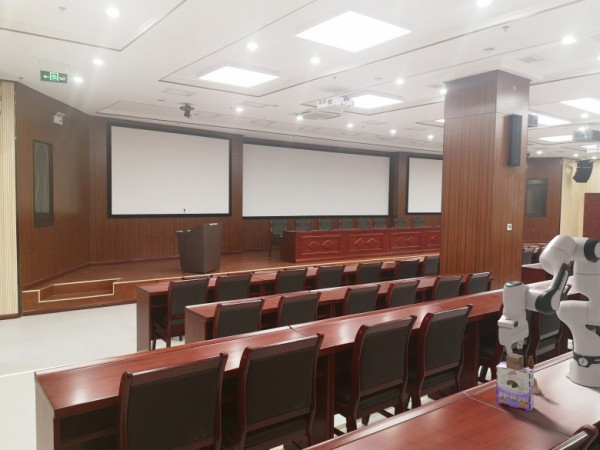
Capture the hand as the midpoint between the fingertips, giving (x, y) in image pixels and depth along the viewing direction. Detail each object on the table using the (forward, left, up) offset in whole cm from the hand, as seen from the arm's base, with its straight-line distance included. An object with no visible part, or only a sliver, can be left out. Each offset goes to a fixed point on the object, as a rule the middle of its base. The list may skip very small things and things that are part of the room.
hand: (514, 351), depth 186 cm
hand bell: (-21, -2, -24) cm, 32 cm away
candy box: (0, 0, -24) cm, 24 cm away
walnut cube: (0, 0, -7) cm, 7 cm away
